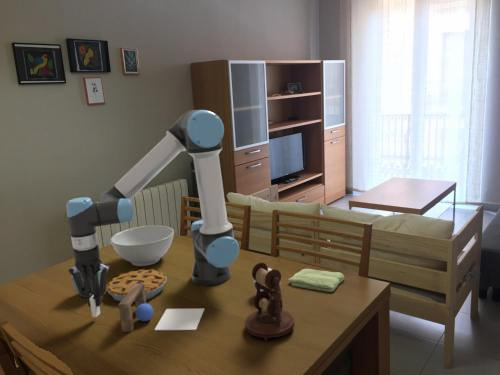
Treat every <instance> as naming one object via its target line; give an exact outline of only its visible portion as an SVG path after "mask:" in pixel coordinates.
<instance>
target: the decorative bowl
mask: <svg viewBox="0 0 500 375" xmlns="http://www.w3.org/2000/svg"><path fill="white" fill-rule="evenodd" d="M174 232H175V231H174V229H173V228H172V227H169V226H167V225H166V226H165V225H157V224H156V225H154V224H153V225H142V226H137V227H131V228H128V229H124V230H122V231H119V232H117V233H115V234H114V235H113V236H112V237H111V238H110V242H111V243H110V244H111V246H112V247H113V249H114V250H115V252H116V253H117V254H118V255H119V256H120V257H121V258H122V259H123V260H125V261H127V262H129V263H131V264H132V265H133V266H136V267H145V266H150V265H151V266H152V265H154V264H156V263H158V262H159V261H160V260H161V258H162V257H163V256H164V255H165V254H166V253H167V252H168V251H169V249H170V247H171V245H172V242H173V240H174V234H175V233H174Z"/></svg>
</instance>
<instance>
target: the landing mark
mask: <svg viewBox="0 0 500 375" xmlns="http://www.w3.org/2000/svg"><path fill="white" fill-rule="evenodd" d="M204 312H205V308H166V309H165V311H164V313H163V314H162V316H161V318H160V319H159V321H158V323H157V325H156V326H155V327H154V331H196V330H197V329H198V326H199V324H200V321H201V318H202V317H203V313H204Z"/></svg>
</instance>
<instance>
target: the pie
mask: <svg viewBox="0 0 500 375" xmlns="http://www.w3.org/2000/svg"><path fill="white" fill-rule="evenodd" d="M167 278H168V276H167V275H166V274H165V272H162V270H160V269H157V270H155V269H154V268H150V269H142V268H141V269H138V270H136V271H135V270H131V271H128V272H126V273H120V274H119V275H118V276H117V277H113V278H112V279H111V281H109V282H108V286H106V291H107V293H108V294H109V295H110V296H112V298H113V299H114V300H115V301H119V302H121V301H122V300H123V298H124V297H125V296H126V295H127V294H128V292H129V291H130V290H131V289H132V287H133V286H134V285H135V284H144V287H145V295H146V300H148V299H151V298H153V297H155V296H157V295H158V294H160V293H161V291H163V289H164V286H165V284H166V283H167ZM133 302H135V300H134V301H133Z"/></svg>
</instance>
